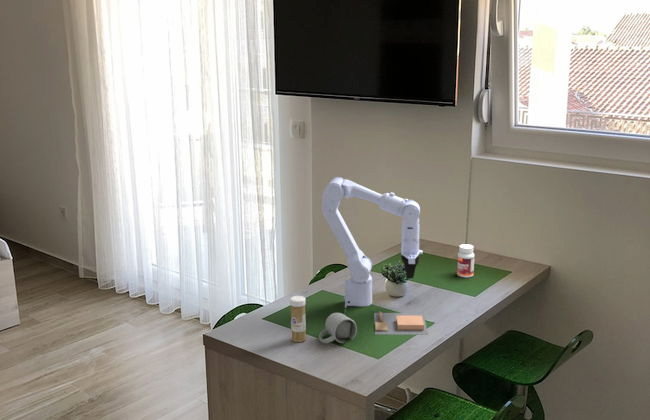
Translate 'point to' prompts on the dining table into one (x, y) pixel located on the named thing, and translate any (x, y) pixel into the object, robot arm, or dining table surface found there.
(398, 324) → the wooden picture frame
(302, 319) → the sprinkles bottle
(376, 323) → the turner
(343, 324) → the ceramic mug
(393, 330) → the mat
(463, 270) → the pill bottle
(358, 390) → the dining table surface
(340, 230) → the robot arm
